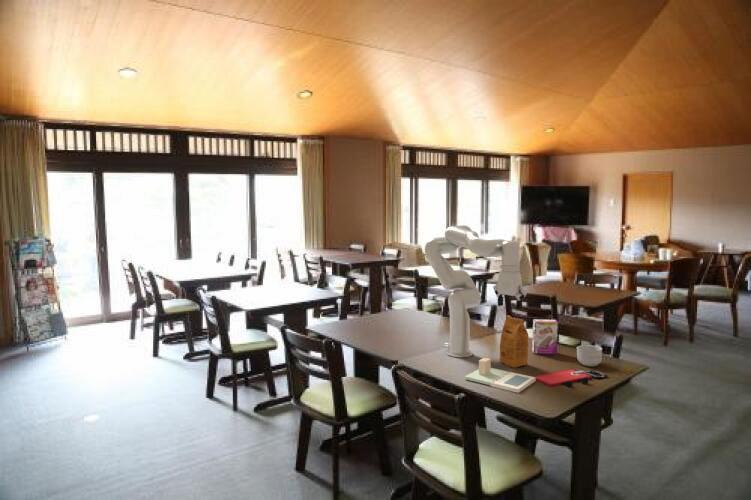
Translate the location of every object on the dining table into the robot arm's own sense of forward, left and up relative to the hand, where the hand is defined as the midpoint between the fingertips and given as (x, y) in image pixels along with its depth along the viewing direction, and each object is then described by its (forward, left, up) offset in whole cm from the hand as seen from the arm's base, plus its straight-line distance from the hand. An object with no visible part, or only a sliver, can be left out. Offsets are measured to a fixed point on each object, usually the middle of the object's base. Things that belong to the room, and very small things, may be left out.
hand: (509, 307), depth 230 cm
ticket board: (+10, -16, -28) cm, 34 cm away
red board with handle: (+26, +4, -28) cm, 39 cm away
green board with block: (-2, -16, -28) cm, 32 cm away
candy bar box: (+4, +33, -28) cm, 43 cm away
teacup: (+27, +30, -28) cm, 49 cm away
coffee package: (-1, +8, -28) cm, 29 cm away
